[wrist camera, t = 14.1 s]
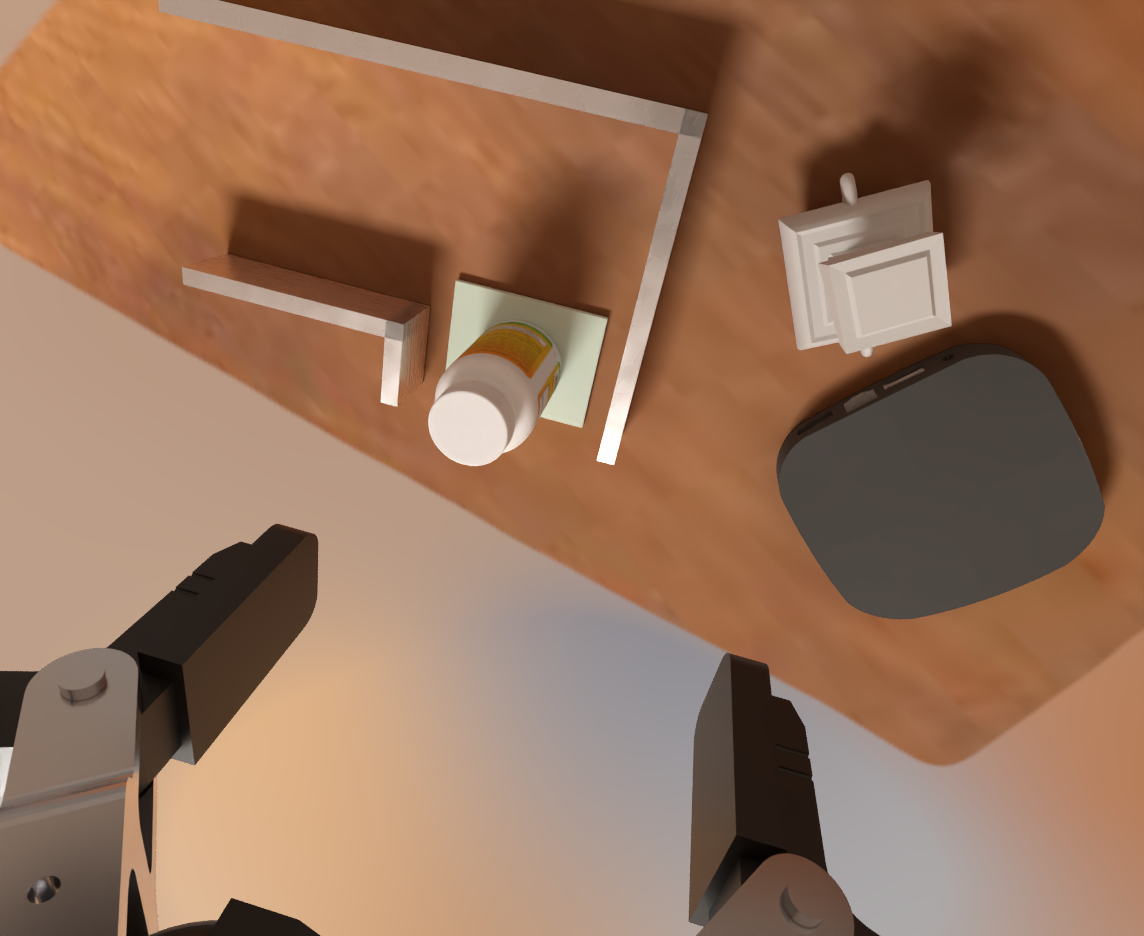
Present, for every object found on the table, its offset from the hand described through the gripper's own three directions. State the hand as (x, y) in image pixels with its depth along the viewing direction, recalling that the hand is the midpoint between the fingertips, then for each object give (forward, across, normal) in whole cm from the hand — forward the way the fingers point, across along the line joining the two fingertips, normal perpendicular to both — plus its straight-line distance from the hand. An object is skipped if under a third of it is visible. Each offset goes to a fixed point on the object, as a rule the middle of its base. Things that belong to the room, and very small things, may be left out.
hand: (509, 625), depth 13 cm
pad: (+28, +6, +6) cm, 29 cm away
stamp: (+28, -10, -4) cm, 30 cm away
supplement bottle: (+28, +6, +6) cm, 29 cm away
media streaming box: (+29, -19, +7) cm, 35 cm away
